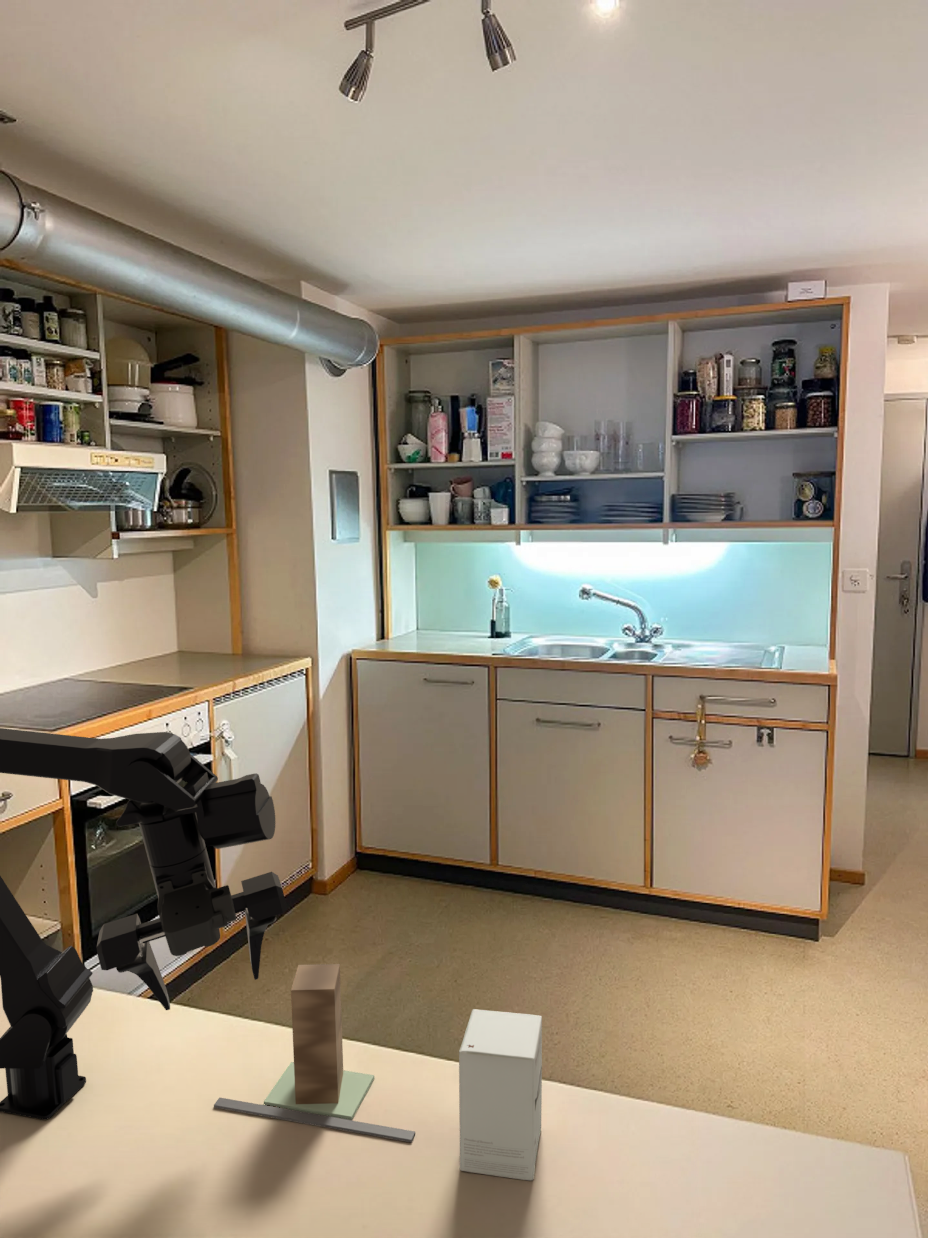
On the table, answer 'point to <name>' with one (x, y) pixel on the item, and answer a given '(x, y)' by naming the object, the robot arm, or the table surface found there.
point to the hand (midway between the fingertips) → (212, 993)
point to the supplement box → (500, 1094)
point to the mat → (346, 1108)
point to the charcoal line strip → (315, 1119)
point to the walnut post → (317, 1033)
